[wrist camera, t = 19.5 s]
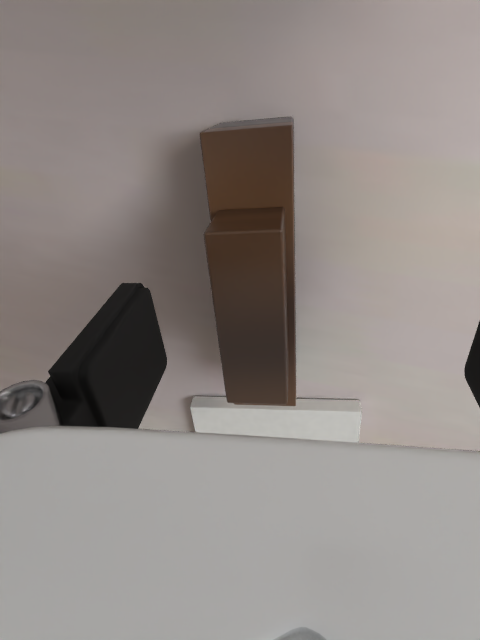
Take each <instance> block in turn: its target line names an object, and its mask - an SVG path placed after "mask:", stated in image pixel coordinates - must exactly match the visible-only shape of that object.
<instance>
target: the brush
mask: <svg viewBox="0 0 480 640" xmlns="http://www.w3.org/2000/svg"><path fill="white" fill-rule="evenodd" d="M200 140H201V148H202V156H203V164H204V172H205V180H206V187H207V195H208V203H209V211H210V219H211V223H210V224H209V226H208V227H207V229H206V231H205V232H204V241H205V248H206V255H207V262H208V269H209V276H210V284H211V291H212V298H213V305H214V312H215V320H216V327H217V334H218V341H219V348H220V355H221V363H222V370H223V377H224V384H225V391H226V399H227V402H228V403H234V404H235V405H267V406H296V311H295V213H294V119H293V117H281V118H270V119H258V120H247V121H235V122H224V123H219V124H217V125H215V126H213V127H211V128H210V129H207V130H205V131H203V132H201V133H200Z"/></svg>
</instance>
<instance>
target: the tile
mask: <svg viewBox="0 0 480 640" xmlns="http://www.w3.org/2000/svg"><path fill="white" fill-rule="evenodd" d="M190 409H191V414H192V419H193V423H194V428H195V432H200V433H217V434H234V435H250V436H266V437H281V438H297V439H312V440H327V441H342V442H357V443H359V435H360V426H361V417H362V410H361V405H360V400H336V399H296V406H267V405H235V404H234V403H228V402H227V399H226V397H207V396H194V397H193V400H192V403H191V406H190Z"/></svg>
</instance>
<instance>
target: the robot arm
mask: <svg viewBox="0 0 480 640" xmlns="http://www.w3.org/2000/svg"><path fill="white" fill-rule="evenodd" d="M166 365H167V357H166V352H165V348H164V344H163V340H162V336H161V333H160V329H159V325H158V321H157V317H156V313H155V309H154V305H153V301H152V297H151V293H150V290H149V289H148V288H144V286H143V284H141V283H122V284H121V285H120V286H119V287H118V288H117V289H116V291H115V292H114V293H113V294H112V295H111V297H110V298H109V299H108V300H107V301H106V303H105V304H104V305H103V306H102V307H101V309H100V310H99V311H98V312H97V314H96V315H95V316H94V317H93V318H92V320H91V321H90V322H89V323H88V324H87V326H86V327H85V328H84V329H83V330H82V332H81V333H80V334H79V335H78V336H77V338H76V339H75V340H74V341H73V342H72V344H71V345H70V346H69V347H68V348H67V350H66V351H65V352H64V353H63V354H62V356H61V357H60V358H59V359H58V360H57V362H56V363H55V364H54V365H53V366H52V368H51V369H50V370H49V371H48V372H49V374H50V377H49V379H48V380H47V381H46V382H45V383H44V382H42V381H38V380H28V381H23V382H19V383H16V384H13V385H11V386H9V387H7V388H5V389H3V390H2V391H0V640H480V451H472V450H457V449H443V448H429V447H415V446H401V445H387V444H372V443H357V442H342V441H327V440H312V439H297V438H281V437H266V436H250V435H234V434H217V433H200V432H184V431H167V430H150V429H138V427H139V425H140V423H141V421H142V419H143V417H144V414H145V412H146V410H147V408H148V406H149V404H150V401H151V399H152V397H153V395H154V393H155V391H156V388H157V386H158V384H159V382H160V380H161V378H162V375H163V373H164V371H165V369H166ZM465 378H466V381H467V383H468V385H469V387H470V389H471V391H472V393H473V395H474V397H475V399H476V401H477V403H478V405H479V407H480V322H479V325H478V328H477V331H476V334H475V337H474V340H473V343H472V346H471V349H470V352H469V355H468V359H467V362H466V365H465Z"/></svg>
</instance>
